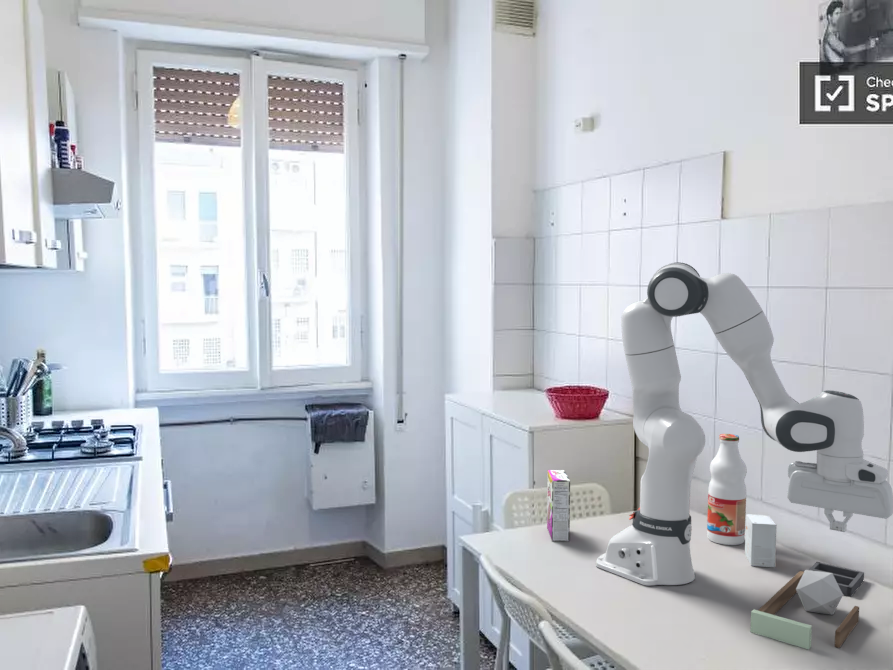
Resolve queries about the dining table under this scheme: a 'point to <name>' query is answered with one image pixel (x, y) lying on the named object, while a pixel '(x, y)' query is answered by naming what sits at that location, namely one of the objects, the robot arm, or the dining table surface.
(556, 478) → the candy bar box
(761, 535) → the small box
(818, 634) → the dining table surface
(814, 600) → the die
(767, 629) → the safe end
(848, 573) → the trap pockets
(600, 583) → the dining table surface
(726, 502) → the fruit juice
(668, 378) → the robot arm
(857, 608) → the lane walls
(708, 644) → the dining table surface
